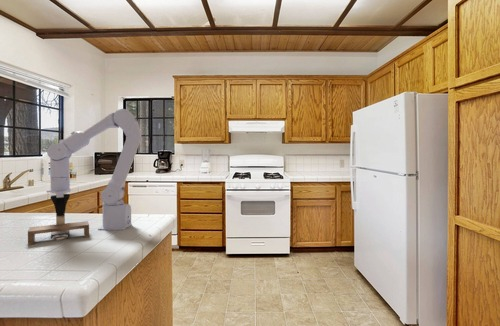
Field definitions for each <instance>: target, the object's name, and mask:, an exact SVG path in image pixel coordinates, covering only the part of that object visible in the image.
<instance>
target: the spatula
mask: <svg viewBox="0 0 500 326" xmlns="http://www.w3.org/2000/svg"><path fill="white" fill-rule="evenodd" d="M65 215H66V213H65V214H64V216H57V214H56V213H55V218H56V219H55V221H56V223H55V225H56V224H66V217H65ZM56 235H68V236H70V230H66V231H57V232H50V238H53V236H56Z"/></svg>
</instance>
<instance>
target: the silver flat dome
mask: <svg viewBox="0 0 500 326" xmlns="http://www.w3.org/2000/svg"><path fill="white" fill-rule="evenodd" d="M68 236H69V235H56V236H53V237H52V240H53V241H63V240H67V239H68V238H69V237H68Z"/></svg>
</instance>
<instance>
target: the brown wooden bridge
mask: <svg viewBox="0 0 500 326" xmlns="http://www.w3.org/2000/svg"><path fill="white" fill-rule="evenodd" d="M80 229H81V230H82V229H83V235H84V238H90V223H89V221H88V220H86V221H78V222H77V221H75V222H68V223H66V222H65V224H56V223H55V224H50V225H49V224H48V225H47V224H46V225H39V226H37V225H36V226H30V227H29V228H28V230H27V246H28V245H29V246H30V245H34V242H35V241H36V240H35V239H36V237H35V236H36V235H38V234H47V233H51V232H57V231H66V230H69V231H74V230H80Z"/></svg>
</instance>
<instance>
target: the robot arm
mask: <svg viewBox="0 0 500 326" xmlns="http://www.w3.org/2000/svg"><path fill="white" fill-rule="evenodd" d="M117 128H118V129H119V128H120V129H121V130H122V132H123V133H124V135H125V137H126V138H125V141H124V144H123V146H122V150H121V152H120V155H119V157H118V160H117V163H116V166H115V168H114V171H113V173H112V176H111V177H110V179H109V181H108V183H107V185H106V187H105V188H104V189H103V190H102V191H101V194H100V198H101V199H100V200H101V201H102V226H100V227H98V228H97V230H98V231H118V230H119V231H120V230H121V231H122V230H126V229H128V228H129V227H130V226H132V225H133V223H132V208H131V207H132V206H131V204H129V203H125V201H124V199H123V198H124V197H125V186H126V181H127V179H128V175H129V172H130V170H131V167H132V164H133V162H134V159H135V157H136V154H137V150H138V149H139V147H140V143H141V140H142V137H143V136H142V133H141V129H140V126H139V120H138V119H137V118H136V116H135V115H134V113H131V112H130V111H129V109H125V108H120V109H117V110H115V112H111V113H109V114H107V115H106V116H105V117H103V118H102V119H101V120H99V121H97V122H96V123H94V124H93V125H91V126H90V127H88V128H87V129H86V130H84V131H81V130H78V131H71V133H70V135H69V136H67V137H66V138H63V139H59V140H58V143H57V142H55V143H51V144H50V145H49V146H48V148H47V150H46V154H47V156H48V157H49V158H50V160H49V161H50V162H49V163H50V164H49V165H50V166H49V170H50V189H47V190H46V193H50V194H53V195H50V200H51V201H52V203H53V206H54V210H55V215H56V214H57V216H64V214H65V215H66V208H67V204H68V201H69V199H70V196H71V195H70V193H69V192H71V187H70V186H71V185H70V180H71V178H70V177H71V175H70V158H71V157H72V155H73V154H75V153H77V152H78V151H80V150H82V149H83V148H85V147H86V146H88V145H89V144H90V141H91V139H93V138H94V137H96V136H97V135H99V134H101V133H103V132H105V131H107V130H108V129H117Z"/></svg>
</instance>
